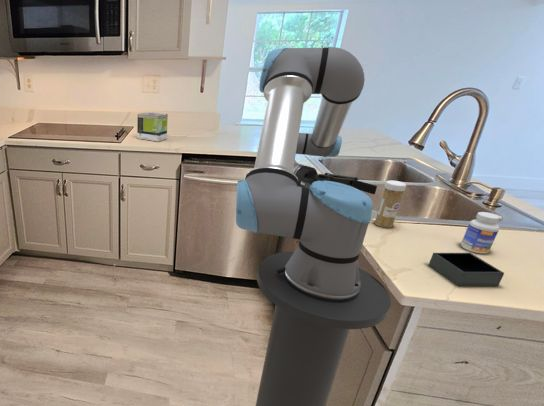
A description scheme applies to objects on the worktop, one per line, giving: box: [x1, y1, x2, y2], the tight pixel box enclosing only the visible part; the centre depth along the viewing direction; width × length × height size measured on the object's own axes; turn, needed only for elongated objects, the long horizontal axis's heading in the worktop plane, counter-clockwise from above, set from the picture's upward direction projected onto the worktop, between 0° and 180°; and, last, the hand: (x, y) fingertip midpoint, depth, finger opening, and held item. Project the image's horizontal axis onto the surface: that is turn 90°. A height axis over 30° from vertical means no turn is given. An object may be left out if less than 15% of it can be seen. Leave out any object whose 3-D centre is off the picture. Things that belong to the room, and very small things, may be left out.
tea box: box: [136, 111, 169, 142], centre depth 213 cm, size 15×10×15 cm
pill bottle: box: [460, 211, 501, 254], centre depth 93 cm, size 5×5×10 cm
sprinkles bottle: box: [374, 179, 407, 229], centre depth 106 cm, size 5×5×14 cm
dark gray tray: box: [428, 252, 505, 287], centre depth 84 cm, size 8×8×4 cm
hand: (363, 194), depth 112 cm, fingers open, 13 cm apart
